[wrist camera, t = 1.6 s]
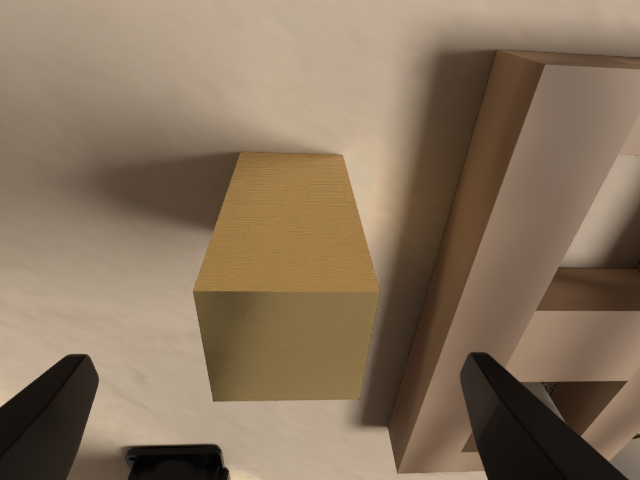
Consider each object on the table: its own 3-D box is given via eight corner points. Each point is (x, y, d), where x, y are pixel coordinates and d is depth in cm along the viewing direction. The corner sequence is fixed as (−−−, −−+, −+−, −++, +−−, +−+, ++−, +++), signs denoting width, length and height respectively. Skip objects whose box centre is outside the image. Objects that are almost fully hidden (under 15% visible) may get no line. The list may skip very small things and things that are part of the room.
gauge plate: (387, 427, 26) (409, 530, 21) (497, 49, 13) (623, 89, 8) (575, 424, 27) (637, 520, 22) (859, 69, 14) (1174, 115, 9)
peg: (246, 237, 17) (213, 401, 10) (240, 151, 14) (192, 291, 8) (334, 238, 17) (359, 399, 10) (342, 155, 15) (379, 292, 8)
